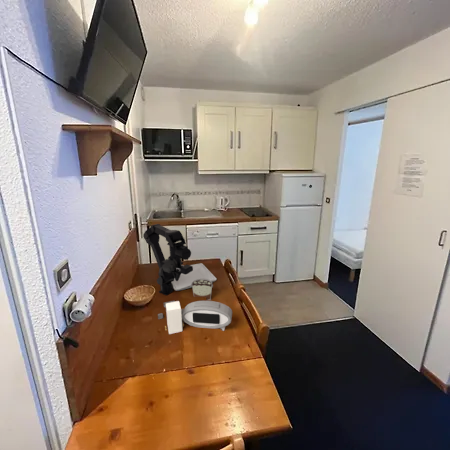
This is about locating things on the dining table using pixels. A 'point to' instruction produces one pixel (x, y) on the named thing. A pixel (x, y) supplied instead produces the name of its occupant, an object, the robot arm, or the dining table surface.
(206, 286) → the food container
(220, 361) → the dining table surface
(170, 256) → the robot arm
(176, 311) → the block
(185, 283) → the square plate
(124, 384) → the dining table surface
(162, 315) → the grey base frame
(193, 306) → the alarm clock
